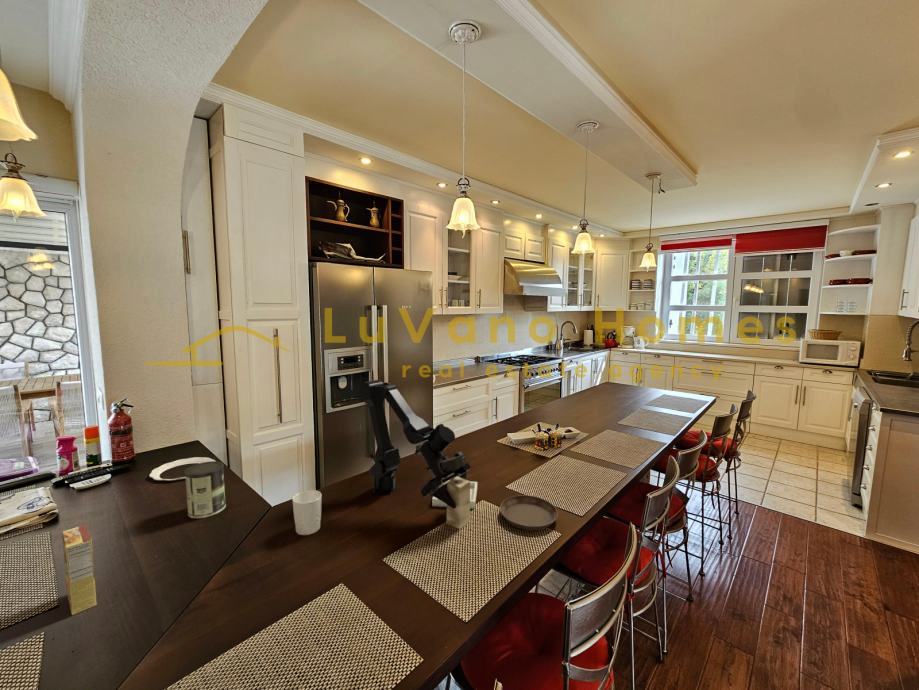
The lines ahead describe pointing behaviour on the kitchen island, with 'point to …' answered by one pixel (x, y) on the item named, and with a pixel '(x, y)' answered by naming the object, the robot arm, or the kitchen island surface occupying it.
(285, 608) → the kitchen island surface
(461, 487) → the maple block
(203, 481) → the coffee can
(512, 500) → the plant saucer
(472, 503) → the tray
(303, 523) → the white cup
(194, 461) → the plate
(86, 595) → the candy box
